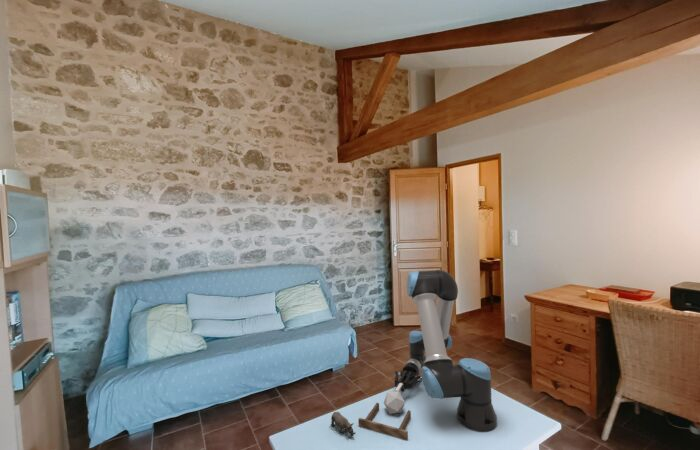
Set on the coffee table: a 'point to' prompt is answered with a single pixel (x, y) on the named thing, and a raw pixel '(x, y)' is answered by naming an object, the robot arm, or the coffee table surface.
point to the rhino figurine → (342, 423)
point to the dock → (383, 428)
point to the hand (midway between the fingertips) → (396, 393)
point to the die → (394, 402)
